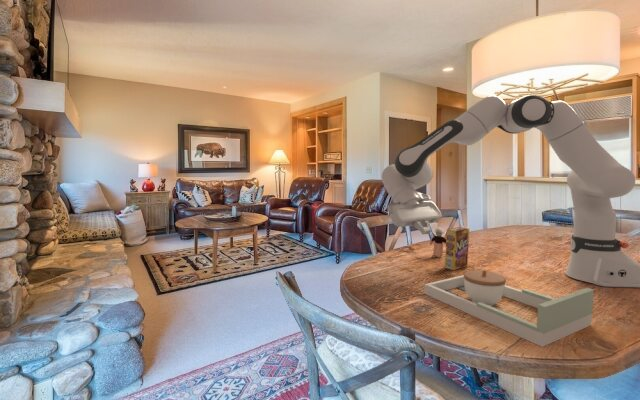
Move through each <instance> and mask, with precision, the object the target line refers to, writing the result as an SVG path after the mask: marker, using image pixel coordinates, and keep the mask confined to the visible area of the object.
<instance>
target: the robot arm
mask: <svg viewBox="0 0 640 400" xmlns="http://www.w3.org/2000/svg"><path fill="white" fill-rule="evenodd" d="M495 128H498V129H500V130H501V131H503V132H504V133H507V134H512V135H514V134H520V133H524V132H527V131H530V130H531V129H537V130H539V132H541V133H542V134H543V136H544V137H545V139H546V141H547V142H548V144H549V145H550V147H551V149H553V151H554V153H555V154H556V156H557V157H558V159H559V160H560V161H561V162H563V163H564V164H565V165H566V166H567V167H568V168H569V169H570V171H569V173H568V174H567V177H566V182H567V185H568V187H569V189H570V193H571V194H570V195H571V199H572V207H573V213H574V215H573V216H574V217H573V233H572V235H571V238H570V251H571V252H570V257H569V262H568V264H567V267H566V269H565V272H564V274H565V275H566V276H567V277H570V278H572V279H574V280H578V281H582V282H586V283H590V284H593V285H597V286H600V287H606V288H607V287H608V288H609V287H612V288H613V287H614V288H640V263H639V262H638V261H636V260H635V259H634V258H633V257H631V256H629V255H628V254H627V253H625V252H624V251H623V250H622V249H628V248H629V247H630V243H628V242H627V241H623V240H622V241H621V240H619V239H617V238H616V234H617V233H616V231H617V221H618V220H617V219H618V218H617V214H616V211H615V210H614V208H613V205H612V201H611V199H613V198H619V197H624V196H625V195H627V194H629V193H630V192H631V191H633V189H634V187H635V186H636V177H635V174H634V173H633V171H631V170H630V169H629V168H628V167H626V166H624V165H622V164H621V163H619V162H618V160H617V159H616V158H614V156H612V155H611V154H610V153H609V152H608V151H607V150H606V149H605V148H604V147H603V146H602V145H601V144H600V143H599V142H598V141H597V139H596V138H595V137H594V136H593V134H592V133H591V131H590V130H589V128H588V127H587V125H586V124H585V122H584V121H583V119H582V117H581V116H580V115H579V114H578V113H577V112H576V111H575V110H574V109H573V108H572V106H570V105H569V104H568V103H567V102H565V101H563V100H554V101H549V100H547V99H546V98H544V97H543V96H540V95H537V94H528V95H523V96H522V97H520V98H517V99H515V100H513V101H512V102H509V103H508V102H505V100H504V99H502V98H501V97H500V96H497V95H487V96H486V97H484V98H481V100H479V101H477V102H476V103H474V104H473V105H472V106H470V107H469V108H468V109H467V110H465V111H464V112H463V113H462V114H461V115H459V116H458V117H456V118H455V119H454V120H453V119H452V120H449V121H447V122H445V123H443V124H442V125H440V126H439V127H437V128H436V129H435V130H433V131H432V132H431V133H428V135H426V136H425V137H423V138H422V139H421V140H419V141H418V142H416V143H415V144H413V145H410V146H407V147H406V148H404V149H402V150H401V151H399V153H398V154H397V156H396V157H395V160H394V163H392V164H389V165H388V166H386V167H385V168H384V169H383V171H382V173H381V175H380V176H381V182H382V184H383V187H384V189H385V190H386V192H387V194H388V195H389V196H390V197H391V199H392V202H393V203H392V202H389V203H388V204H387V206H386V209H387V211H388V213H389V216H390V219H391V222H392V224H393V225H394V226H395V227H397V228H402V227H411V226H414V228H415V229H417V230H418V231H419V232H420V233H421V234H422V235H428V234H431V233H432V230H431V228H430V224H434V223H438V222H439V221H440V220H441V219H443V218H442V217H443V214H442V212H441V210H440V209H439V208H438V206H437V205H436V203H435V202H433V201H432V197H431V195H429V194H425V193H422V192H420V191H417V190H419V189H421V188H422V187H425V186H426V185H428V184H429V183H430V182H431V181H432V179H433V177H434V172H433V169H432V167H431V165H430V164H429V163H428V161H427V160H428V159H429V157H431V156H432V155H434V153H436V152H437V151H439V150H440V149H441V148H443V147H445V146H446V145H448V144H451V143H455V144H458V145H460V146H472V145H474V144H476V143H477V142H478V143H479V141H481V140H482V139H483V138H485V137H486V136H487V135H488V134H489V133H490V132H491V131H493V130H494V129H495Z"/></svg>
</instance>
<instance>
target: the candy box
mask: <svg viewBox="0 0 640 400" xmlns="http://www.w3.org/2000/svg"><path fill="white" fill-rule="evenodd" d="M445 239H446V244H445V253H444V255H445V256H444V257H445V260H444V268H445V269H448V270H451V271H456V270H459V269H462V268H466V267H468V257H469V242H470V227H467V226H466V227H465V226H459V227H451V228H447V229H446V237H445Z"/></svg>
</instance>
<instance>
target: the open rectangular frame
mask: <svg viewBox="0 0 640 400" xmlns="http://www.w3.org/2000/svg"><path fill="white" fill-rule="evenodd" d="M521 290H522V293H525V294H528V295H531V296H534V297H537V298H540V299H543V300H546V301H547V302H545V303H542V304H539V305H538V308H537V317H536V318H537V320H536V322H537V323H536V324H535V323H533V322H530V321H528V320H527V319H526V320H525V319H524V318H521V317H518V316H516V315H513V314H511V313H509V312H506V311H503V310H501V309H499V308H496V307H494V306H489V305H486V304H484V303H481V302H479V303H477V307H480V308H482V309H485V310H487V311H489V312H492V313H494V314H496V315H499V316H501V317H504V318H506V319H508V320H511V321H513V322H516V323H518V324H520V325H523V326H525V327H528V328H530V329H532V330H535V331H538V332H540V333H542V334H545V333H547V332H549V331H552V330H554V329H557V328H559V327H561V326H564V325H566V324H568V323H571V322H573V321H576V320H578V319H580V318H583V317H585V316H588V315H590V314H593V308H594V307H593V306H594V295H595V294H594V293H595V290H594V289H592V288H590V287H586V288H582V289H579V290H576V291H574V292H571V293H568V294H565V295H562V296H560V297H557V298H555V297H551V296H549V295H546V294H543V293H540V292H537V291H533V290H530V289H527V288H524V289H521Z"/></svg>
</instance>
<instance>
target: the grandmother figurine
mask: <svg viewBox="0 0 640 400" xmlns="http://www.w3.org/2000/svg"><path fill="white" fill-rule="evenodd" d="M443 234H444V230H443V228H441V227H437V228H436V229H435V235H434V236H433V237H432V238H431V240H430V242H429V244H430V245H433V254H432V255H431V257H432V258H437V259H443V255H444V254H443V253H444V244H445V245H446V237H443ZM433 243H434V244H433Z"/></svg>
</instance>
